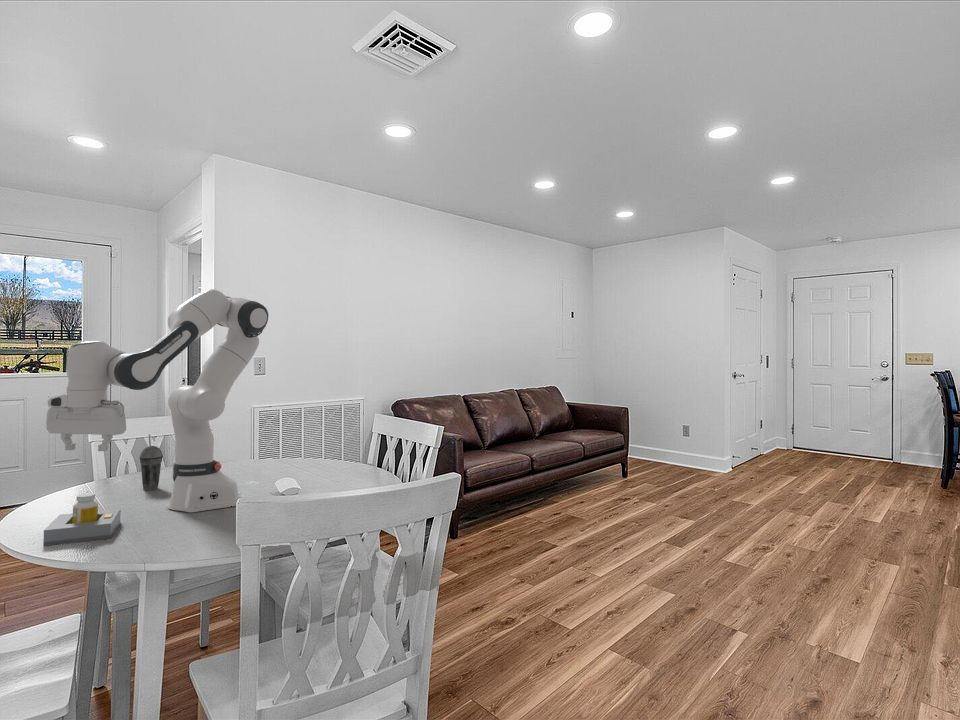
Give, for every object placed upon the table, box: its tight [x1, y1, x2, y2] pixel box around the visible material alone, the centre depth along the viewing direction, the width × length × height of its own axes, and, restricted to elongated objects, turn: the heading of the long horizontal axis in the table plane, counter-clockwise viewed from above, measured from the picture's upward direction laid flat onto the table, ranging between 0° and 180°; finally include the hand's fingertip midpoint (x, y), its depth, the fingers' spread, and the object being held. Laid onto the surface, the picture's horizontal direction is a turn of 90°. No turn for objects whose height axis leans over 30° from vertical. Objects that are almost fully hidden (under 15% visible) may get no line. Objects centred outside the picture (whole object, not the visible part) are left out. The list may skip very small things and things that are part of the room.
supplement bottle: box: [72, 492, 99, 524], centre depth 138 cm, size 5×5×10 cm
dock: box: [43, 508, 122, 547], centre depth 138 cm, size 14×14×4 cm
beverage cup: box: [139, 434, 164, 491], centre depth 184 cm, size 7×7×20 cm
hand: (86, 450), depth 138 cm, fingers open, 8 cm apart
